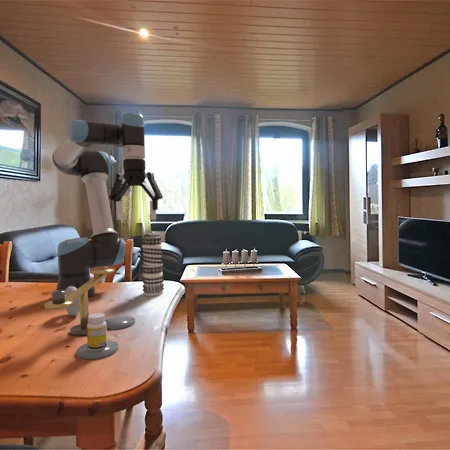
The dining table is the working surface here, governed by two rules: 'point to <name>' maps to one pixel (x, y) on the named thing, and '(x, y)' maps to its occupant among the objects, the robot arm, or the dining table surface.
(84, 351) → the dish low
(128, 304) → the dining table surface
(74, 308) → the donut
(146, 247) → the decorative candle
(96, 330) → the supplement bottle
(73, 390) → the dining table surface
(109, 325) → the glossy grey puck
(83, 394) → the dining table surface
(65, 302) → the balance
